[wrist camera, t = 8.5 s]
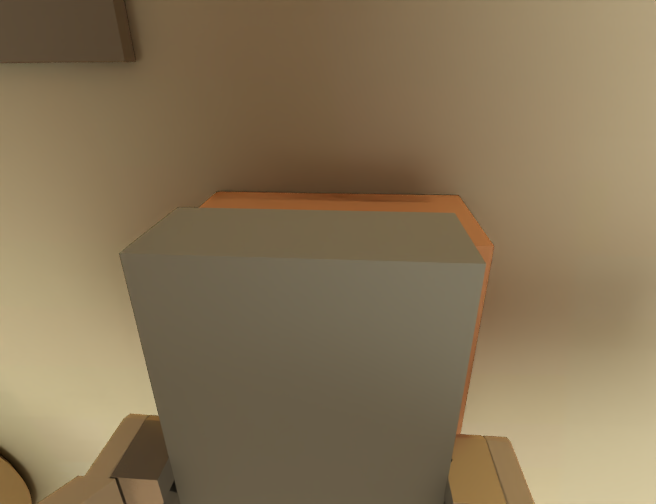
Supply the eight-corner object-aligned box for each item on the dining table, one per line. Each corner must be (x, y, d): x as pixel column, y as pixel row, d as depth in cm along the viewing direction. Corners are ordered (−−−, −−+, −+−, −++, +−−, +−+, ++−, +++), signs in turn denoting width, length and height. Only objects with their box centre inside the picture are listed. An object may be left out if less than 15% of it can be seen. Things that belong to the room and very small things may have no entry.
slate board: (177, 206, 8) (119, 252, 6) (454, 213, 8) (485, 263, 6) (233, 538, 13) (209, 626, 11) (409, 552, 12) (418, 645, 10)
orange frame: (217, 191, 14) (164, 237, 10) (458, 195, 13) (494, 246, 10) (240, 375, 17) (207, 459, 14) (433, 385, 17) (452, 475, 13)
